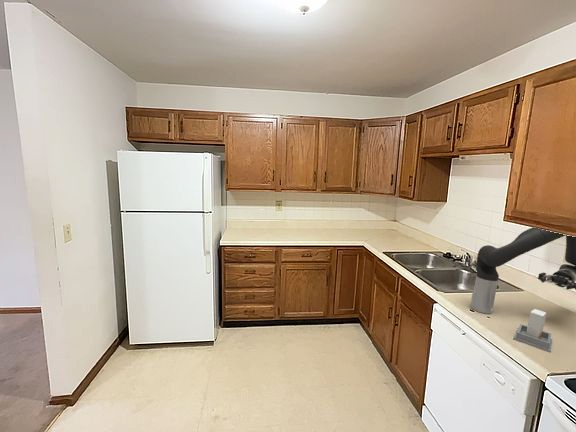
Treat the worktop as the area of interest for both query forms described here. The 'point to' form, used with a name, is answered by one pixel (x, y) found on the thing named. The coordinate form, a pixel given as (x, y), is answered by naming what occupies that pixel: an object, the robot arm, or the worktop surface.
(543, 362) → the worktop surface
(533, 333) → the skincare box
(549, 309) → the worktop surface
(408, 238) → the worktop surface
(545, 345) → the square gray tray
